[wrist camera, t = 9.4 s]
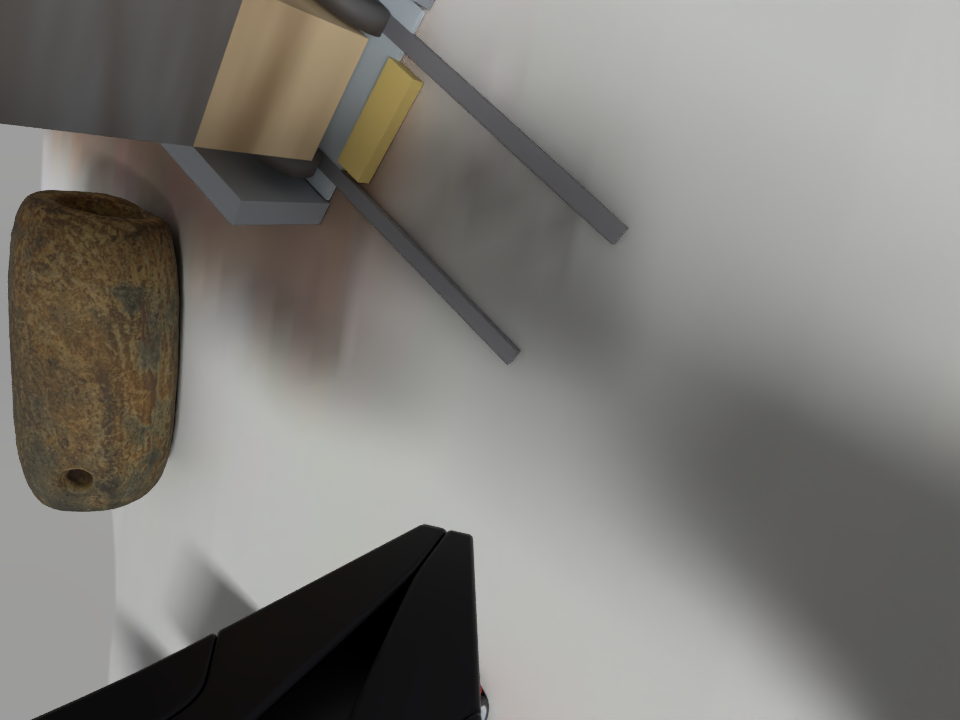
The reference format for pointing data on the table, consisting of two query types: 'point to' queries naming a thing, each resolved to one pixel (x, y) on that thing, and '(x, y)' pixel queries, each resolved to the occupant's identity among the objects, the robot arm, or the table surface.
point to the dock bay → (379, 159)
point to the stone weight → (92, 347)
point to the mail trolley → (186, 70)
